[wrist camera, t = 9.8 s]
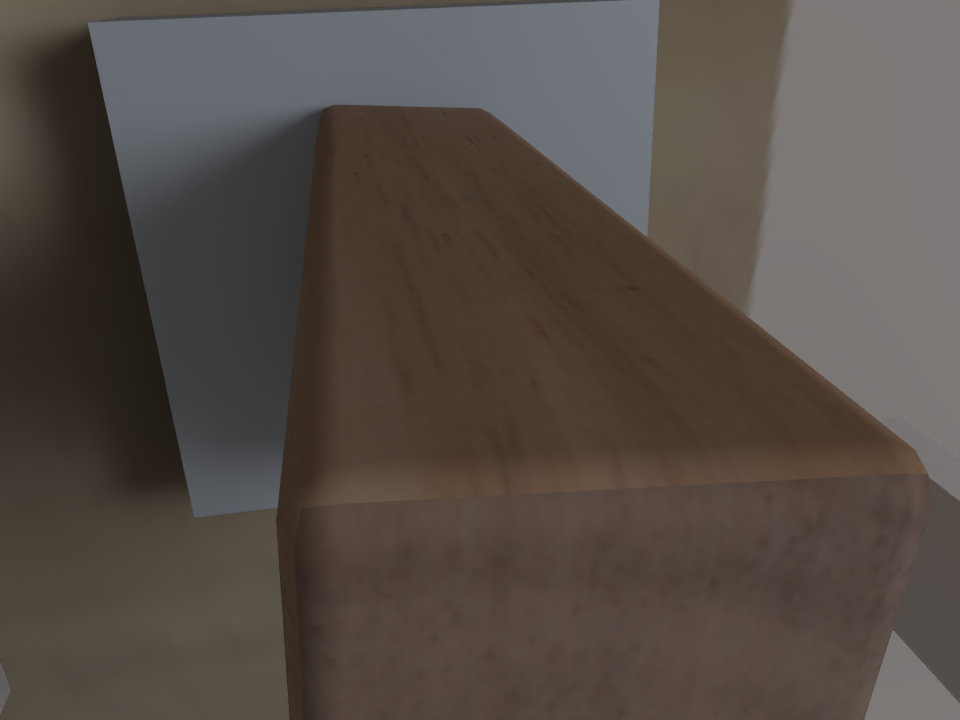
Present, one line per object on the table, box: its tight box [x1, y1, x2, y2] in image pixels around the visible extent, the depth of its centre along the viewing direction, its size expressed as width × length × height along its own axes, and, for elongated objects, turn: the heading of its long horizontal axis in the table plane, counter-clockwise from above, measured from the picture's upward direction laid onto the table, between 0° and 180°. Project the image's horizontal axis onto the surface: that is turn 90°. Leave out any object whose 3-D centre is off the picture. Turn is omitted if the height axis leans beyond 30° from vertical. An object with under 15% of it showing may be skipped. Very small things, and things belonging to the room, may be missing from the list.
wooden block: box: [276, 105, 931, 720], centre depth 15 cm, size 9×4×18 cm, turn 177°
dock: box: [88, 0, 660, 517], centre depth 25 cm, size 14×14×3 cm
